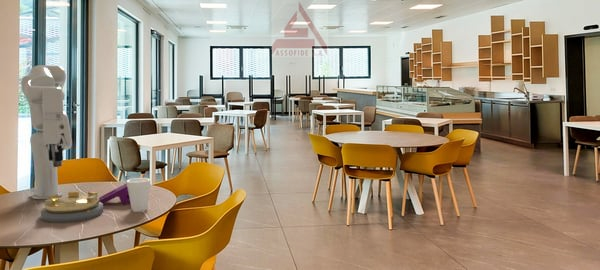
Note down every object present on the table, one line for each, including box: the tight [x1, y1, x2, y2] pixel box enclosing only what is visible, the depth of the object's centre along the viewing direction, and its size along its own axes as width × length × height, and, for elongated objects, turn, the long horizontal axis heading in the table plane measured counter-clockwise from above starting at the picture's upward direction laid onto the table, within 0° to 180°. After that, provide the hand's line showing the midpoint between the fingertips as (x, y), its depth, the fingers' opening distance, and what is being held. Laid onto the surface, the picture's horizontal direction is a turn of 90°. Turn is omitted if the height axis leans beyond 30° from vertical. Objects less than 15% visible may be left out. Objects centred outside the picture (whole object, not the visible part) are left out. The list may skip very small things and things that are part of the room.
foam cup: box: [126, 177, 151, 213], centre depth 191 cm, size 10×9×13 cm
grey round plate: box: [40, 202, 104, 224], centre depth 185 cm, size 23×23×3 cm
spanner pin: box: [51, 144, 63, 168], centre depth 187 cm, size 3×3×10 cm
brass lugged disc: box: [44, 190, 100, 214], centre depth 184 cm, size 20×20×4 cm
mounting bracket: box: [98, 182, 131, 206], centre depth 204 cm, size 10×8×18 cm
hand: (56, 160), depth 187 cm, fingers closed on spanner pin, 3 cm apart
